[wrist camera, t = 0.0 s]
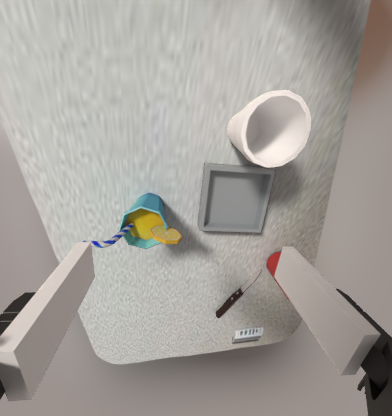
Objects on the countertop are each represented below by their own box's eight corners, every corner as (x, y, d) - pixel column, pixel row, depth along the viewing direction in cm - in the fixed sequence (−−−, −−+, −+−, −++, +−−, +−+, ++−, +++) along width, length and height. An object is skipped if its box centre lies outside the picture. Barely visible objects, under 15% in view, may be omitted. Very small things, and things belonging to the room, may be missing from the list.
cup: (114, 223, 42) (85, 270, 28) (107, 188, 39) (72, 221, 25) (180, 220, 43) (183, 263, 30) (178, 185, 40) (182, 216, 27)
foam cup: (259, 158, 40) (297, 171, 28) (215, 152, 39) (234, 163, 27) (272, 106, 37) (321, 96, 25) (224, 97, 35) (251, 83, 23)
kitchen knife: (217, 312, 56) (219, 319, 54) (215, 311, 56) (216, 317, 54) (261, 268, 51) (264, 273, 50) (258, 266, 51) (261, 271, 49)
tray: (204, 162, 39) (206, 165, 36) (268, 167, 41) (275, 170, 38) (197, 224, 44) (199, 230, 41) (255, 226, 46) (260, 232, 43)
